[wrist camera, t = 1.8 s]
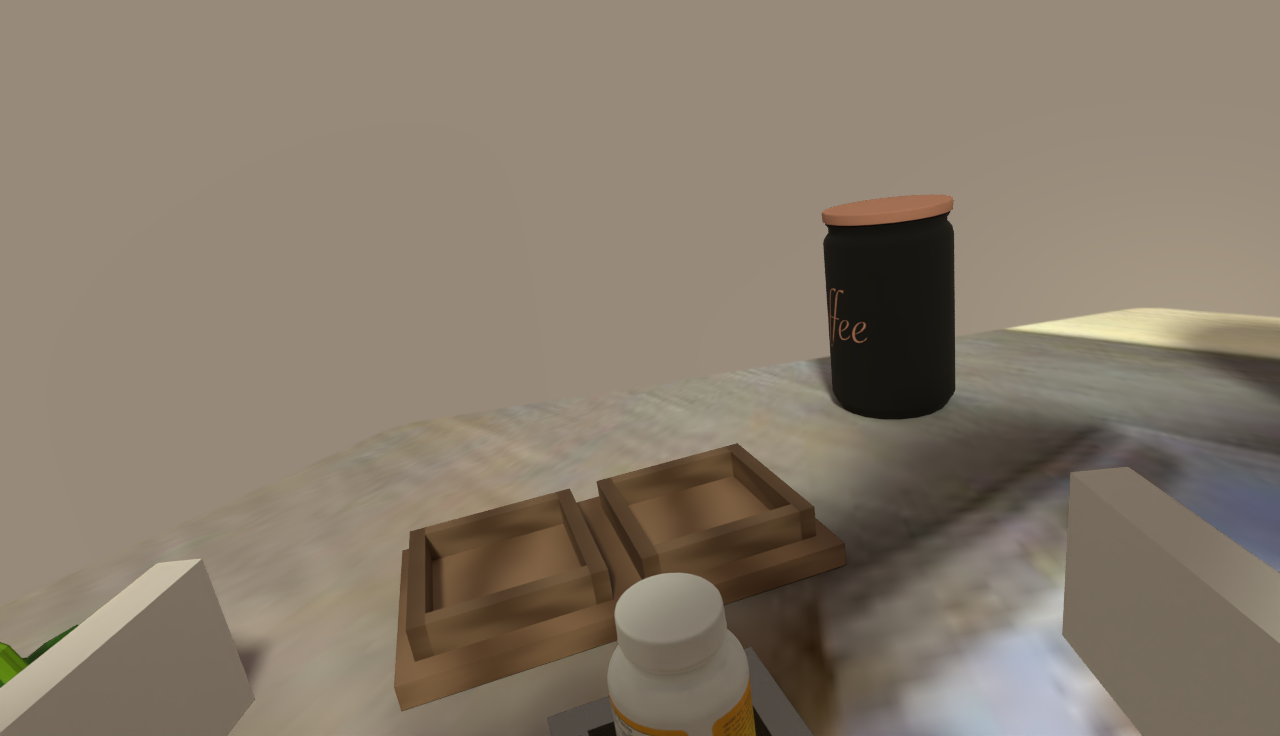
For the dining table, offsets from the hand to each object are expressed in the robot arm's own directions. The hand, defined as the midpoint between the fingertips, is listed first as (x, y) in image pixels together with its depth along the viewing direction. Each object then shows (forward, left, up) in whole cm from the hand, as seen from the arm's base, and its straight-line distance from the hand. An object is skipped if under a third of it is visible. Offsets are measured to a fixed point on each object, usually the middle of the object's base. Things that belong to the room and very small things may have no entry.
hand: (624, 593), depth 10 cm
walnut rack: (-4, -30, -19) cm, 35 cm away
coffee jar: (-35, -43, -19) cm, 59 cm away
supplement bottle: (-3, -12, -19) cm, 23 cm away
